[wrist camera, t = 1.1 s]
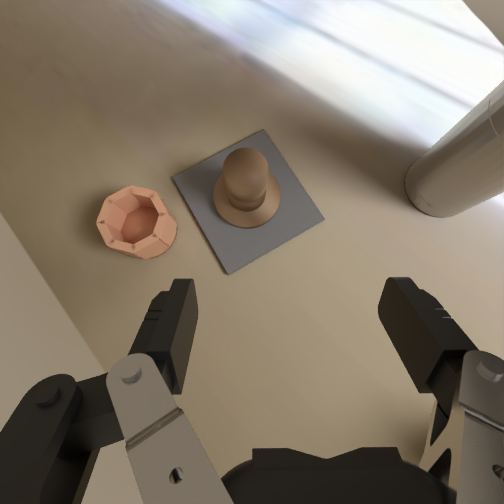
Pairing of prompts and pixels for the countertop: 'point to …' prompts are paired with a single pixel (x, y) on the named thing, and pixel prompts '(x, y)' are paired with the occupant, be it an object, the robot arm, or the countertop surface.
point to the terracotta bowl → (137, 223)
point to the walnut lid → (246, 190)
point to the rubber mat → (256, 239)
